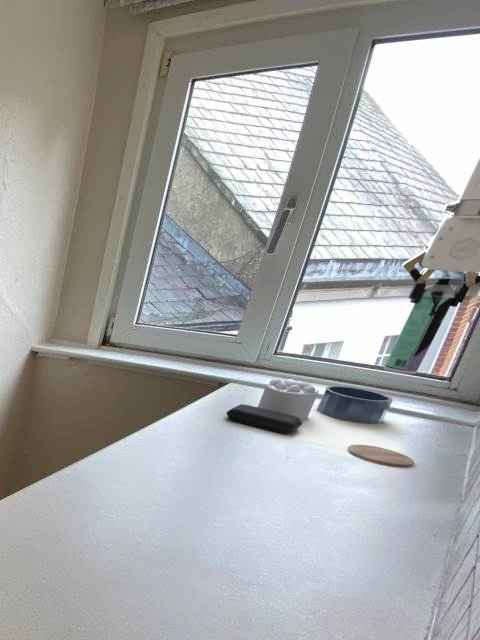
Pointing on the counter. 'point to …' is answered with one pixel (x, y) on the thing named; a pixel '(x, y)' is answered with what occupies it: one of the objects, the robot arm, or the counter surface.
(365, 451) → the coaster
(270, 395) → the white pebble pot
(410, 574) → the counter surface
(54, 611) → the counter surface
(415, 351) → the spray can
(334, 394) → the bowl
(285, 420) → the carrying case
